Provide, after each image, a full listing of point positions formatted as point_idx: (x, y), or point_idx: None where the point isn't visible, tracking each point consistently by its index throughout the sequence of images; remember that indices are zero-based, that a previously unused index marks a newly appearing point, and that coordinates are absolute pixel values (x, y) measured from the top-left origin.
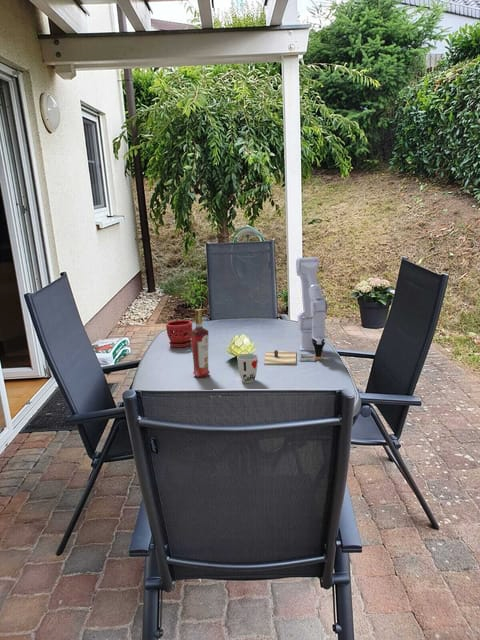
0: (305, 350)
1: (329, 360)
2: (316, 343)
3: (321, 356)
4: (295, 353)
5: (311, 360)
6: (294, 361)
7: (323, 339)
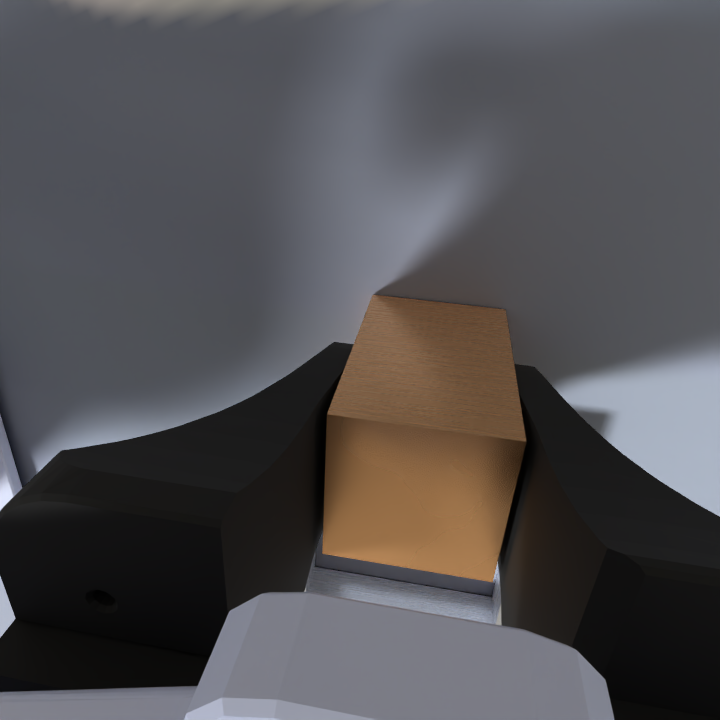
0: (17, 472)
1: (571, 152)
2: None
3: (509, 346)
4: None
5: None
6: None
7: (231, 554)
